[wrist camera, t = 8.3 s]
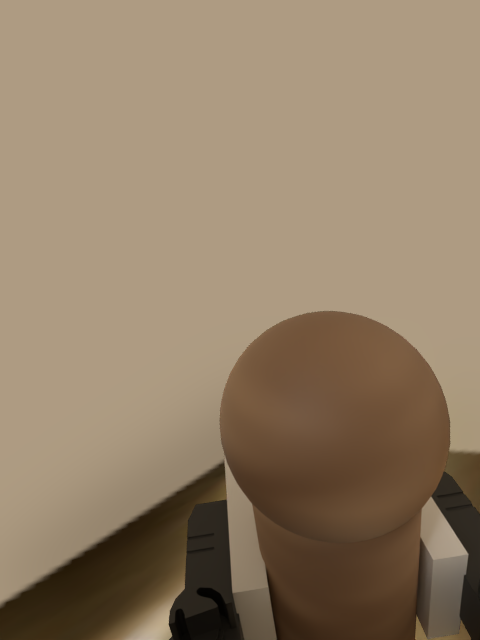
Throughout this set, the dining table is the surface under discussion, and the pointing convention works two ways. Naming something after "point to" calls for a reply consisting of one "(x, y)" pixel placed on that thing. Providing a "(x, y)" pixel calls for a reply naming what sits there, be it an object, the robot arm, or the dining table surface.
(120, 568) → the dining table surface
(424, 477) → the pawn
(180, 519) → the dining table surface
